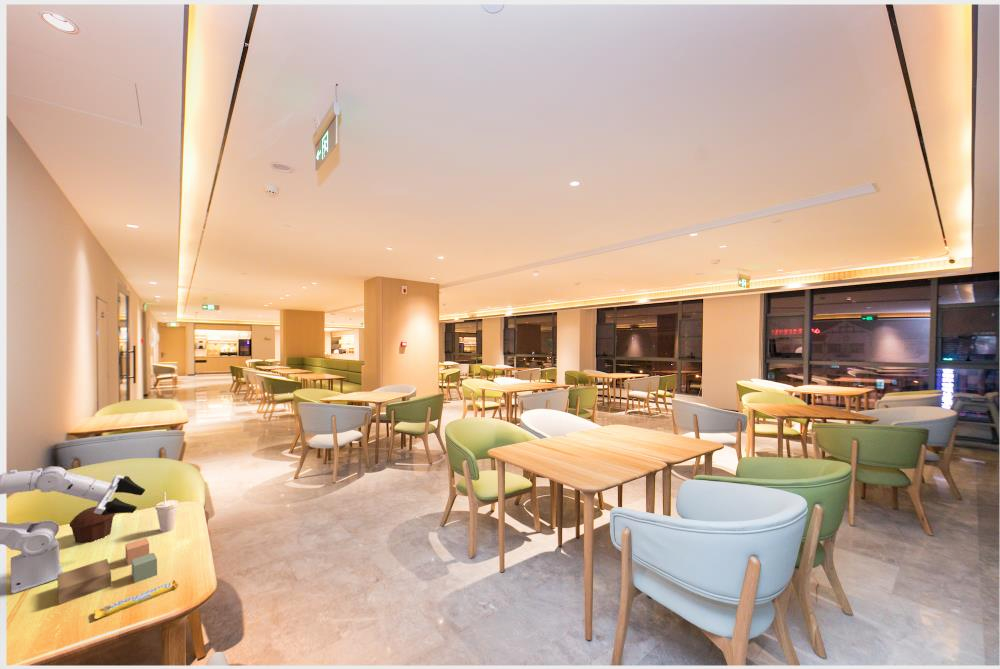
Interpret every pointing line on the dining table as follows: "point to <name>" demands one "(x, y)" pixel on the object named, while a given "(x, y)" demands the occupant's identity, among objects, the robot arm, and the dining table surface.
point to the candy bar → (134, 600)
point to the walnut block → (83, 581)
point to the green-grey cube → (144, 567)
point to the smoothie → (166, 514)
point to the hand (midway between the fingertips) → (139, 501)
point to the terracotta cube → (136, 550)
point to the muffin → (91, 526)
